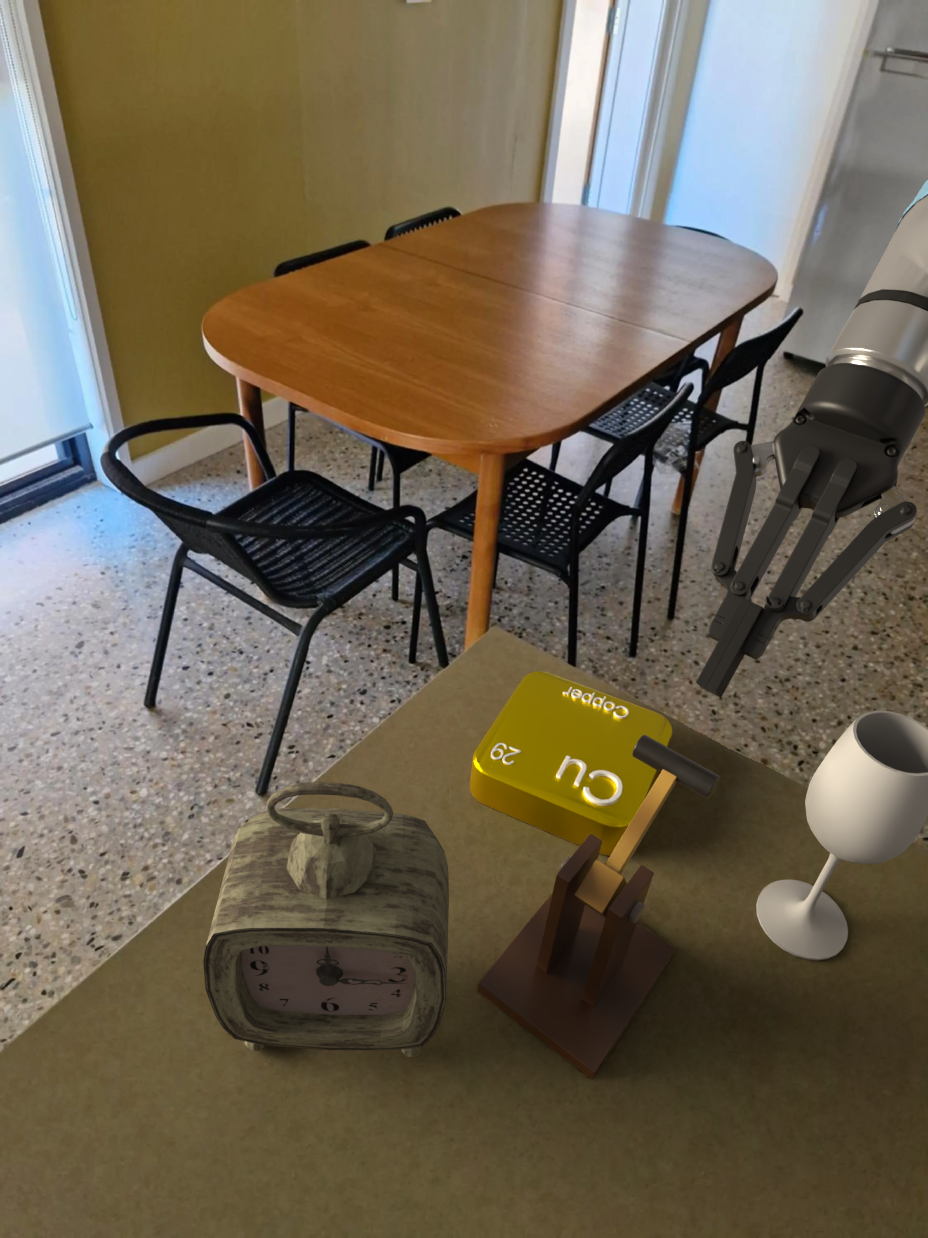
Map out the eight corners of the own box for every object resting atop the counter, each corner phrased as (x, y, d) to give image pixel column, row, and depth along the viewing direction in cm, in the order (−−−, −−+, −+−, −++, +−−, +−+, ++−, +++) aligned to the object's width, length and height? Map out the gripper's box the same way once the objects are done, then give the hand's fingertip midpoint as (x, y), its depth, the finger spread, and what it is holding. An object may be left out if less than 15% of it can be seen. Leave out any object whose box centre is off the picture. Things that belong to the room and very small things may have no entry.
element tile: (668, 750, 86) (679, 714, 83) (620, 865, 75) (631, 830, 72) (526, 695, 90) (531, 660, 87) (461, 797, 79) (464, 761, 76)
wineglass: (837, 980, 68) (950, 805, 55) (741, 930, 71) (827, 752, 58) (858, 908, 73) (967, 732, 60) (768, 864, 76) (853, 686, 63)
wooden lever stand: (563, 884, 73) (588, 782, 65) (672, 956, 69) (713, 856, 61) (476, 991, 65) (492, 891, 57) (592, 1080, 61) (626, 985, 53)
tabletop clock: (223, 1069, 60) (172, 842, 44) (249, 946, 67) (213, 712, 51) (437, 1078, 60) (462, 856, 45) (441, 955, 67) (463, 725, 52)
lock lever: (645, 740, 65) (643, 729, 63) (720, 781, 62) (721, 772, 60) (555, 885, 62) (550, 879, 60) (630, 935, 60) (627, 930, 57)
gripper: (965, 442, 61) (802, 742, 61) (786, 383, 67) (636, 657, 67) (981, 393, 54) (796, 731, 54) (780, 332, 60) (613, 637, 60)
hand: (708, 690), depth 61 cm, fingers closed
